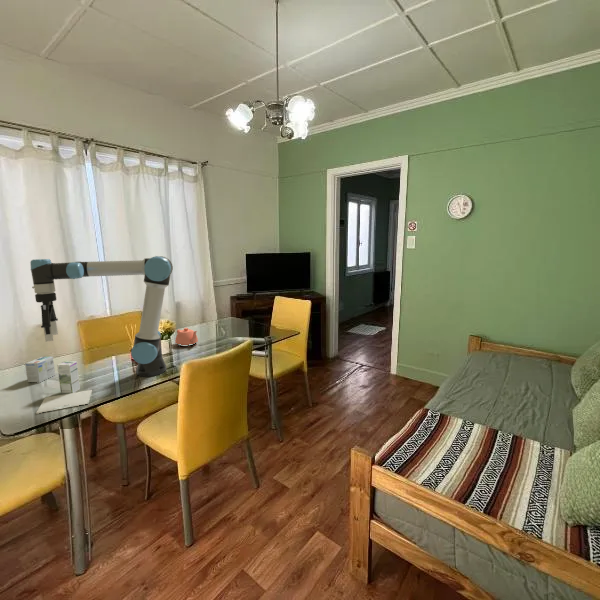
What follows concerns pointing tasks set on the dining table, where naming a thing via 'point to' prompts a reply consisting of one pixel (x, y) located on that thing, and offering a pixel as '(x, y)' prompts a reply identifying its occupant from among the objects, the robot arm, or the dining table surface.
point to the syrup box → (68, 377)
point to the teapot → (186, 337)
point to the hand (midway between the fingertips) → (52, 337)
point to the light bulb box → (40, 369)
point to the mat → (65, 400)
